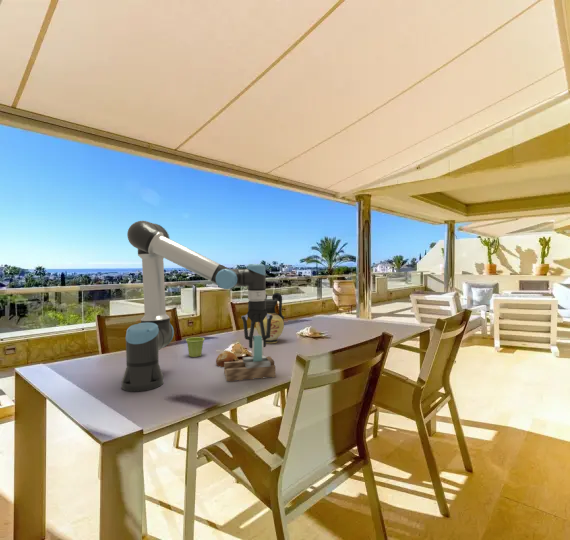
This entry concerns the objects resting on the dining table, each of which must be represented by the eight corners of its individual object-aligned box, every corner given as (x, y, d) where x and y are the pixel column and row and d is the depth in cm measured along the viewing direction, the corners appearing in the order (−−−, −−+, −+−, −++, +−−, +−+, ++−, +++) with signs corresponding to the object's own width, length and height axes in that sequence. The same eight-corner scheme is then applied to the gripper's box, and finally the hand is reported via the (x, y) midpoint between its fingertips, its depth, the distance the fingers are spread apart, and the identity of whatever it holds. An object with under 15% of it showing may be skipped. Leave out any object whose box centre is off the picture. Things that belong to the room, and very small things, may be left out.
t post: (251, 370, 144) (251, 338, 144) (249, 366, 151) (248, 335, 150) (266, 369, 146) (266, 337, 146) (263, 365, 152) (263, 334, 152)
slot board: (226, 381, 139) (226, 366, 139) (224, 372, 151) (224, 358, 151) (275, 377, 144) (275, 362, 144) (269, 368, 156) (269, 355, 156)
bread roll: (229, 368, 170) (223, 352, 171) (244, 362, 165) (238, 346, 166) (215, 373, 161) (209, 357, 163) (231, 367, 156) (225, 350, 158)
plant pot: (207, 353, 184) (206, 337, 184) (201, 358, 174) (200, 341, 174) (190, 353, 185) (189, 337, 185) (183, 358, 175) (182, 340, 175)
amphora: (283, 338, 220) (283, 291, 220) (285, 344, 203) (285, 293, 203) (255, 339, 219) (255, 291, 219) (255, 345, 202) (254, 293, 202)
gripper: (238, 301, 142) (239, 358, 143) (277, 300, 146) (278, 355, 147) (236, 300, 150) (237, 354, 150) (273, 298, 154) (274, 351, 154)
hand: (257, 355), depth 148 cm, fingers closed on t post, 3 cm apart
